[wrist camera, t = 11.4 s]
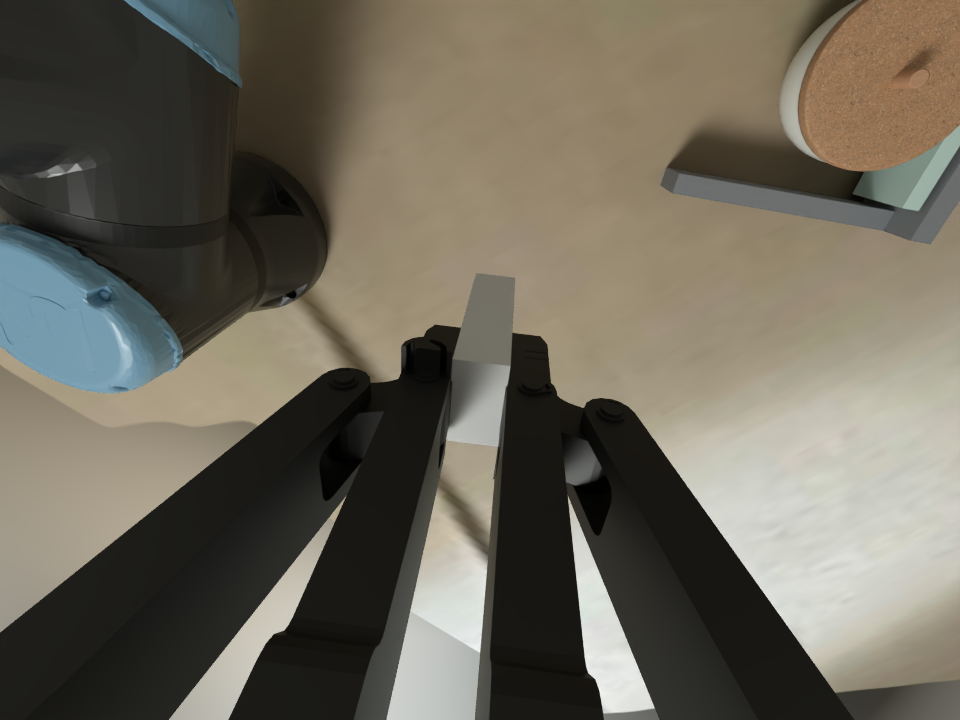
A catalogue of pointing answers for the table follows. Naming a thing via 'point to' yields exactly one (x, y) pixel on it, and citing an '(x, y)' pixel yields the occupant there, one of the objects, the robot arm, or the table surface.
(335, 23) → the table surface
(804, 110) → the lidded jar
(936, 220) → the grey fixture frame
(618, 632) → the table surface
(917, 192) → the pusher
